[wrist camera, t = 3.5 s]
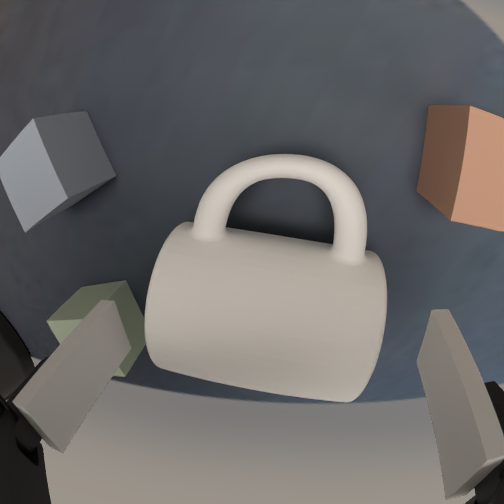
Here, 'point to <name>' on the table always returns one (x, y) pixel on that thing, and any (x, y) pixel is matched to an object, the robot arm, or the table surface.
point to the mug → (270, 293)
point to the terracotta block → (464, 165)
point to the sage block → (87, 300)
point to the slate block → (53, 166)
